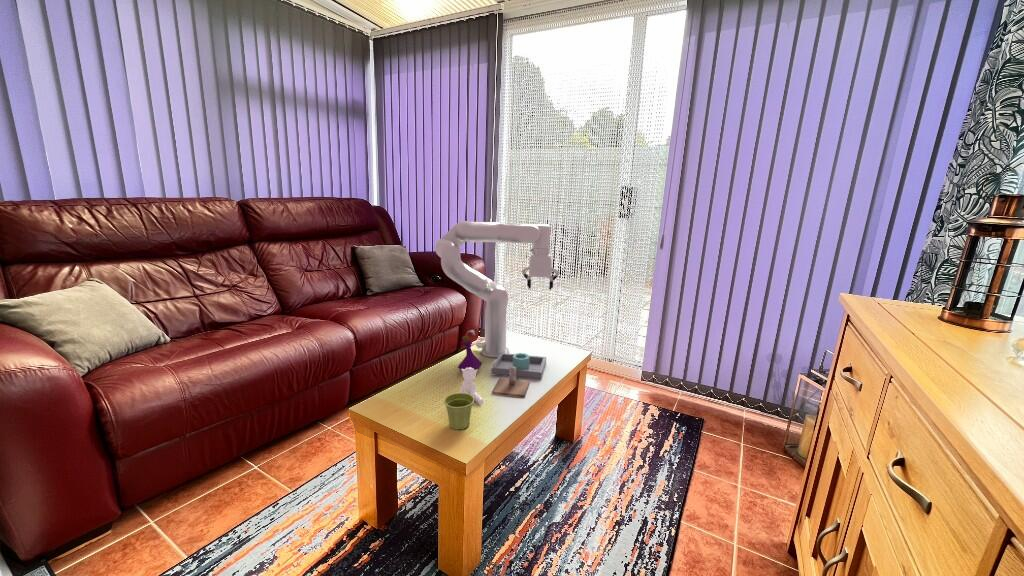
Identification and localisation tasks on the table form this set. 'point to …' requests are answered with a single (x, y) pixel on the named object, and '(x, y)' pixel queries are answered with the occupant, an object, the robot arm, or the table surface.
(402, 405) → the table surface
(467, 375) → the seated beast figurine
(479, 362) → the perfume bottle
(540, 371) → the tray
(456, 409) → the plant pot
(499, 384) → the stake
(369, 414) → the table surface
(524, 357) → the ring
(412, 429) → the table surface
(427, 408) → the table surface
